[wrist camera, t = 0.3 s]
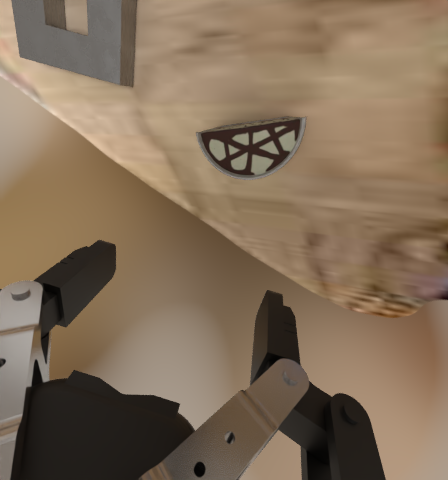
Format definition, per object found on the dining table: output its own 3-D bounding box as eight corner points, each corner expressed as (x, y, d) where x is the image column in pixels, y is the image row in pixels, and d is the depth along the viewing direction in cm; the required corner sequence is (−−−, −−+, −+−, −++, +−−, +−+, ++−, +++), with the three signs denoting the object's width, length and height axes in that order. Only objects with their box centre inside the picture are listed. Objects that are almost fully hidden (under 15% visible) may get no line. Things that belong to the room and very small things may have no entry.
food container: (217, 170, 39) (201, 188, 30) (211, 127, 36) (191, 133, 27) (299, 161, 36) (307, 178, 27) (299, 114, 33) (308, 117, 25)
